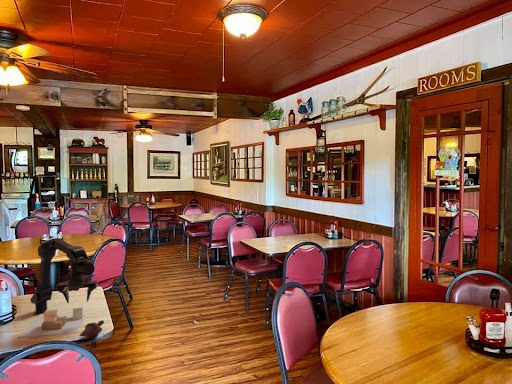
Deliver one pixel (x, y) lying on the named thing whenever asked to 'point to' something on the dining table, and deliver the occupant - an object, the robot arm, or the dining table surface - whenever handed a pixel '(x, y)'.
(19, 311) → the dining table surface
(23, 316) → the dining table surface
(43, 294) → the robot arm
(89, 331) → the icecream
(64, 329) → the mat
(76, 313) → the beige rectangular block
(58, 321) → the plinth
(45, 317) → the maple block
